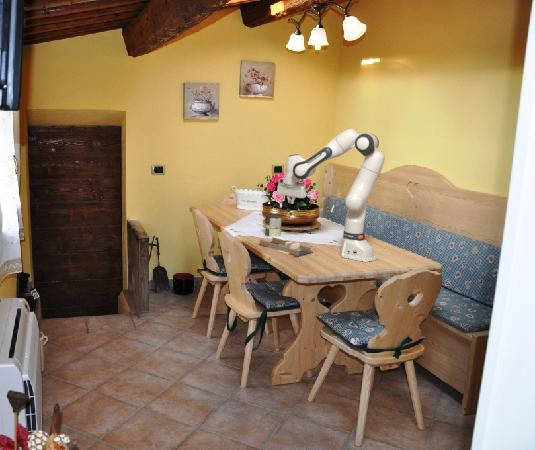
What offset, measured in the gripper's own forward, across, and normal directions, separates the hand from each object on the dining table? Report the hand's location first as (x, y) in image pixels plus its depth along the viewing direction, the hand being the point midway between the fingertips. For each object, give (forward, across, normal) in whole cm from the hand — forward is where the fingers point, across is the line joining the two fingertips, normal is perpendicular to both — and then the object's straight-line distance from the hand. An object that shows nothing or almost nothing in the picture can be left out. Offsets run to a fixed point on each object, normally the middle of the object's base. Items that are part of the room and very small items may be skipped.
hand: (290, 203), depth 331 cm
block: (+25, -13, +13) cm, 31 cm away
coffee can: (+26, +20, -7) cm, 33 cm away
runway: (+26, -7, +12) cm, 29 cm away
